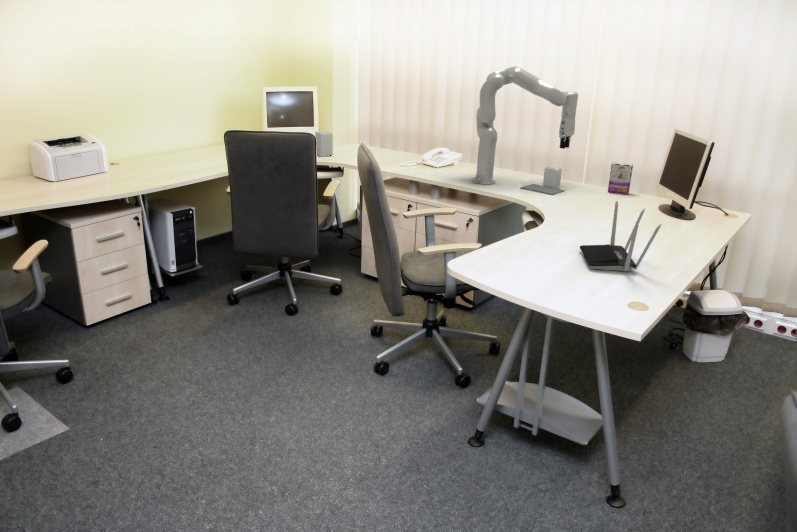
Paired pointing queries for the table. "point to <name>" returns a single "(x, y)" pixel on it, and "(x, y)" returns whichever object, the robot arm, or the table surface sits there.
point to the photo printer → (552, 176)
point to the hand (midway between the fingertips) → (564, 147)
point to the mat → (542, 189)
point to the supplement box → (324, 143)
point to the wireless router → (615, 250)
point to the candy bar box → (620, 178)
